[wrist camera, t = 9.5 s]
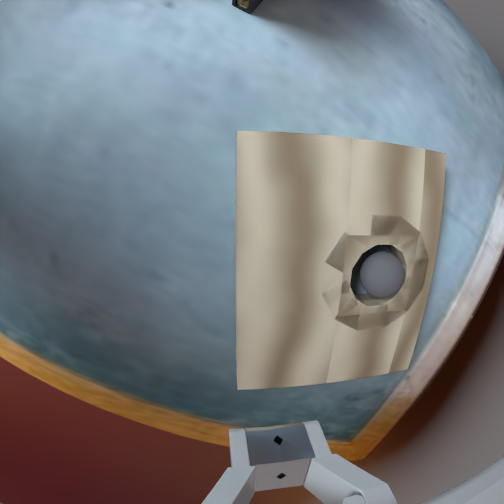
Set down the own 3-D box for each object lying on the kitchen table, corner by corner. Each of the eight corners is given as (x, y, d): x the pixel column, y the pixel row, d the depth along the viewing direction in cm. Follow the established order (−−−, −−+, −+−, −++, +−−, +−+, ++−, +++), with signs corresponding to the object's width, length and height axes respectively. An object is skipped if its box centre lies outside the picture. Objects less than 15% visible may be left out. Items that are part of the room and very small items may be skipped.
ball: (381, 285, 28) (348, 290, 27) (387, 245, 27) (353, 247, 26) (408, 300, 24) (374, 308, 23) (416, 257, 23) (382, 261, 22)
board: (236, 373, 29) (237, 389, 26) (235, 134, 23) (237, 130, 20) (397, 357, 30) (407, 369, 28) (429, 153, 24) (445, 153, 22)
